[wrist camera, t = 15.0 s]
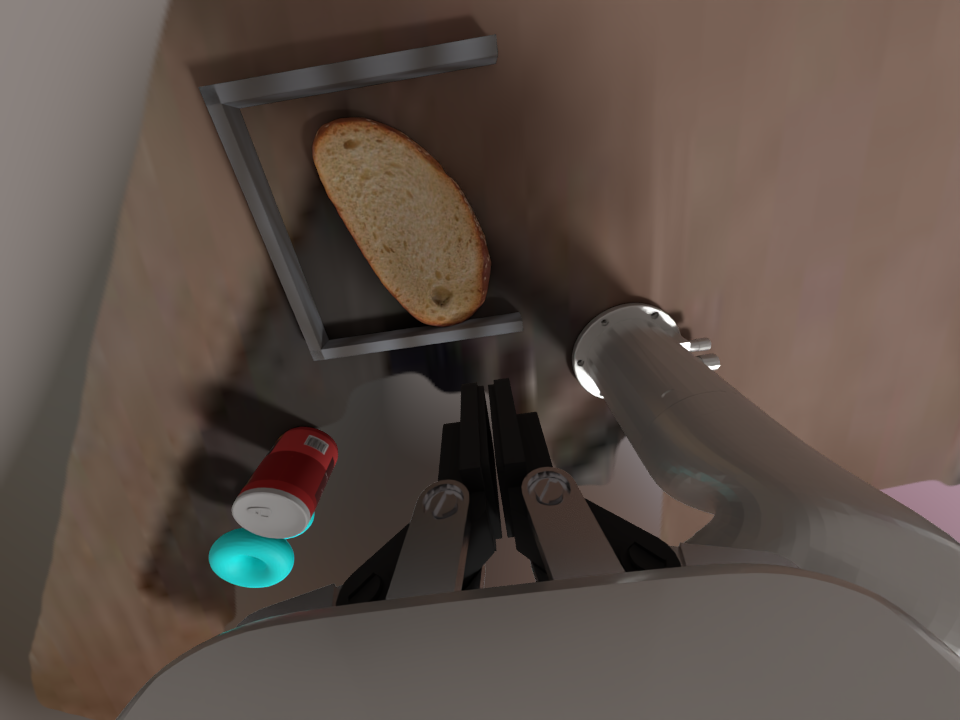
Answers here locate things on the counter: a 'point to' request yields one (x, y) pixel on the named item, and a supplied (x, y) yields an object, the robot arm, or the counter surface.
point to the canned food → (287, 484)
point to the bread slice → (405, 218)
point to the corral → (263, 207)
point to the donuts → (252, 558)
